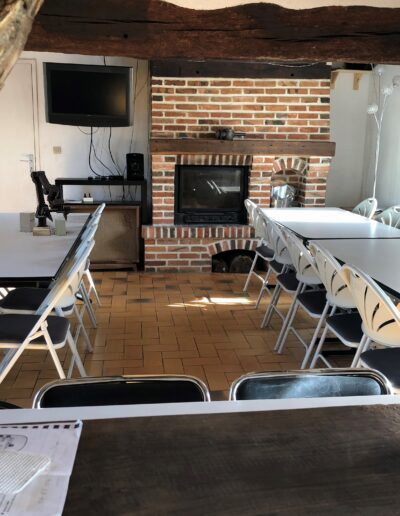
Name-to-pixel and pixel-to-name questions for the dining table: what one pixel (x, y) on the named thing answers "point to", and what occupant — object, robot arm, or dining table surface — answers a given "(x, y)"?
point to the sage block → (60, 227)
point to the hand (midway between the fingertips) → (59, 221)
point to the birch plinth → (41, 231)
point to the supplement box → (27, 221)
